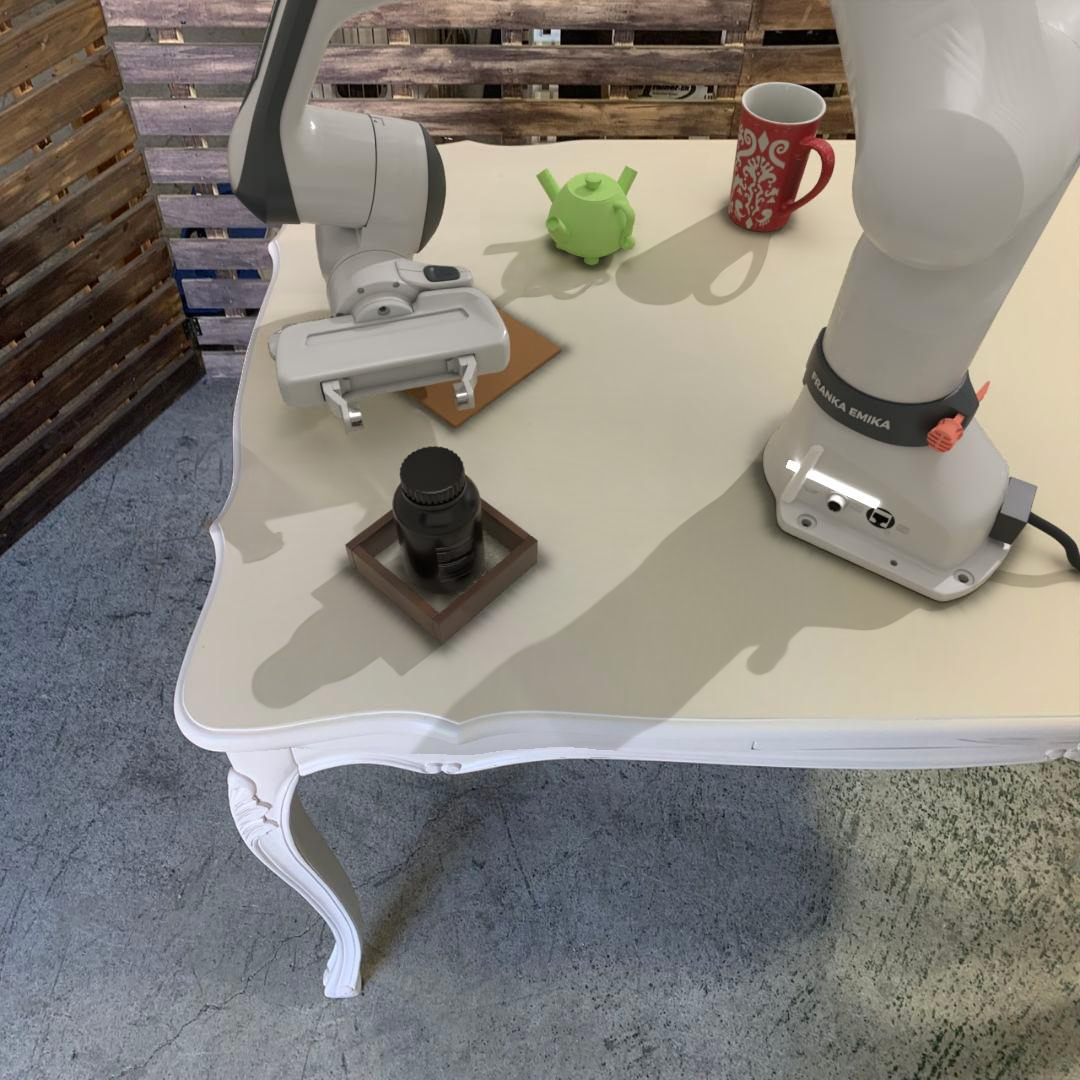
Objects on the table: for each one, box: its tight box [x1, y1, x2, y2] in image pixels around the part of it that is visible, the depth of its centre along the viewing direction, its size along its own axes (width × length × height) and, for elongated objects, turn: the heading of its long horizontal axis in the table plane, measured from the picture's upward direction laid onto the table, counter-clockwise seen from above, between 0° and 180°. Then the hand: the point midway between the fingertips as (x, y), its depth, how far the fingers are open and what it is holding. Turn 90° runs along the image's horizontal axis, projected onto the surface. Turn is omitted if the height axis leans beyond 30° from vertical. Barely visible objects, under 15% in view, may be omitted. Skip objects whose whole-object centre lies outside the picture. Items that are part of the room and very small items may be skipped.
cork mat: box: [402, 306, 562, 429], centre depth 91 cm, size 15×15×1 cm
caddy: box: [344, 497, 539, 645], centre depth 74 cm, size 11×11×3 cm
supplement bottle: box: [391, 445, 486, 595], centre depth 71 cm, size 7×7×12 cm
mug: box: [727, 81, 836, 232], centre depth 100 cm, size 13×9×14 cm
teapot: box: [535, 165, 639, 266], centre depth 99 cm, size 11×12×8 cm
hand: (411, 414), depth 75 cm, fingers open, 8 cm apart
